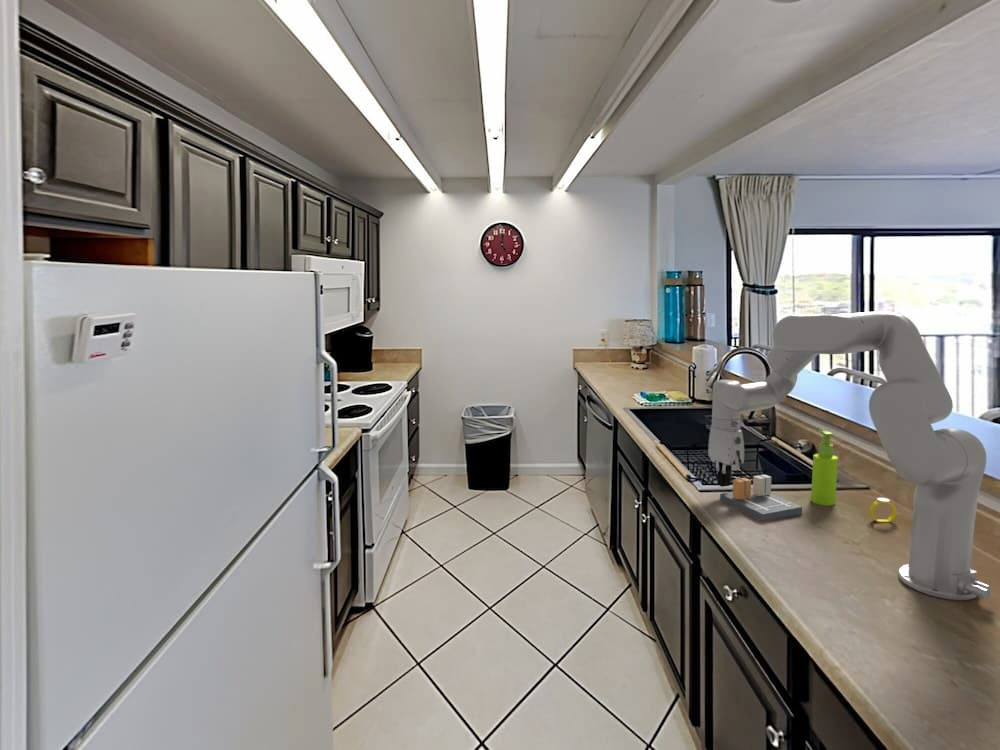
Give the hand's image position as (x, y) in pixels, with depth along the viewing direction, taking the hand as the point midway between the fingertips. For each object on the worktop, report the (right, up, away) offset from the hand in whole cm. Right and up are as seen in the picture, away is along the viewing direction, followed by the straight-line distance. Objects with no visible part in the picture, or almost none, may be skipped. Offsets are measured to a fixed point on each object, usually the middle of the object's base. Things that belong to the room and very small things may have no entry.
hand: (723, 485), depth 161 cm
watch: (+33, -6, -19) cm, 38 cm away
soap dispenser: (+26, -4, -5) cm, 26 cm away
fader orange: (+2, -2, -7) cm, 7 cm away
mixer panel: (+7, -4, -8) cm, 11 cm away
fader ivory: (+9, -2, -4) cm, 10 cm away
